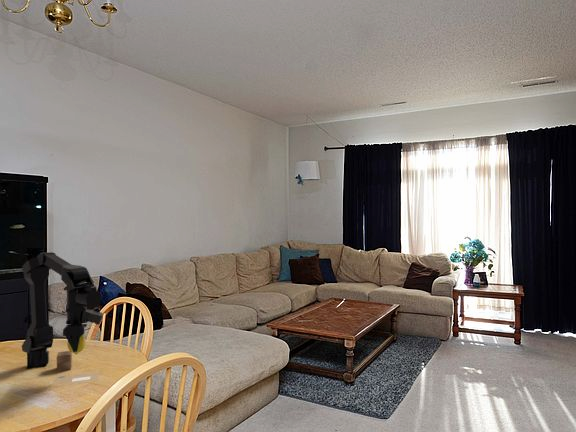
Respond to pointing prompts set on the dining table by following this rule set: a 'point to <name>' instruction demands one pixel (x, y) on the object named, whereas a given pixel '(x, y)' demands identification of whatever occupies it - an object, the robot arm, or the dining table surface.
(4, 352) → the dining table surface
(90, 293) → the robot arm
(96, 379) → the envelope
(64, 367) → the walnut block
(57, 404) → the dining table surface
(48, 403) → the dining table surface
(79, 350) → the lemon
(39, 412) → the dining table surface
